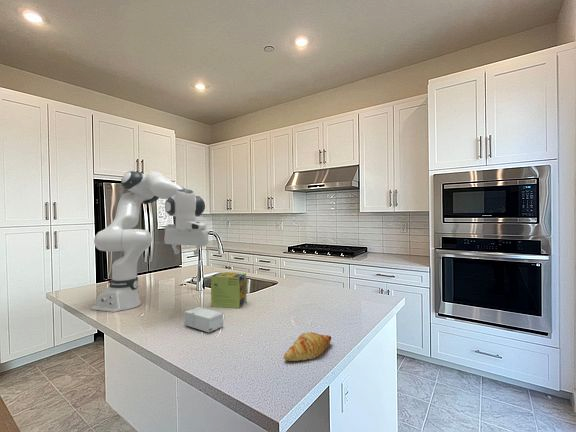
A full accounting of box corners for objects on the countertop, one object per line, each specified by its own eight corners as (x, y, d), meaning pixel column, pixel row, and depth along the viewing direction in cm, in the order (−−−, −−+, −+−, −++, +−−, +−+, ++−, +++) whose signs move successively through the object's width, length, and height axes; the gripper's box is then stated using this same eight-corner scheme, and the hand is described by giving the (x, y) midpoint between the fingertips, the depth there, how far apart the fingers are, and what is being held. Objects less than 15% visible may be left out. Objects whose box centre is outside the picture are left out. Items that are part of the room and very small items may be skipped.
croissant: (290, 377, 94) (298, 360, 90) (272, 352, 100) (279, 335, 97) (335, 354, 107) (343, 338, 104) (317, 333, 114) (324, 317, 111)
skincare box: (198, 306, 132) (224, 311, 125) (198, 320, 132) (224, 326, 125) (183, 311, 125) (209, 317, 118) (183, 326, 125) (209, 333, 118)
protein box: (239, 308, 148) (239, 277, 147) (210, 306, 151) (210, 275, 150) (247, 301, 158) (246, 272, 157) (219, 300, 161) (219, 271, 161)
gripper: (161, 224, 137) (161, 254, 138) (204, 225, 134) (204, 256, 135) (168, 223, 143) (168, 252, 144) (209, 224, 140) (209, 253, 141)
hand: (186, 254), depth 139 cm, fingers open, 8 cm apart
